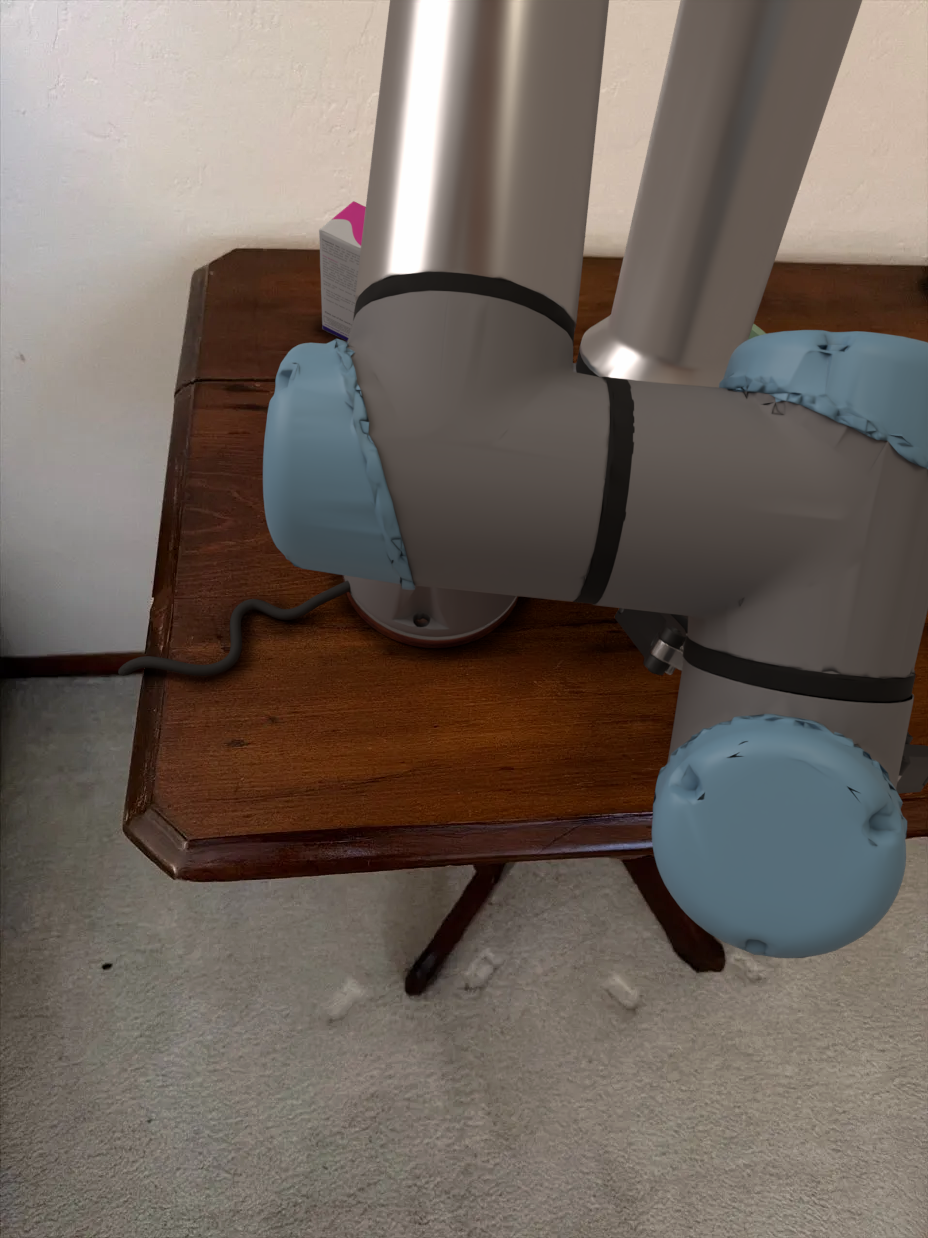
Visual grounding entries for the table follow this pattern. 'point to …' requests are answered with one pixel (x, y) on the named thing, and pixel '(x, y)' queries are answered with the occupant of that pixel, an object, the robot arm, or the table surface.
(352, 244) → the supplement box
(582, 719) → the table surface
